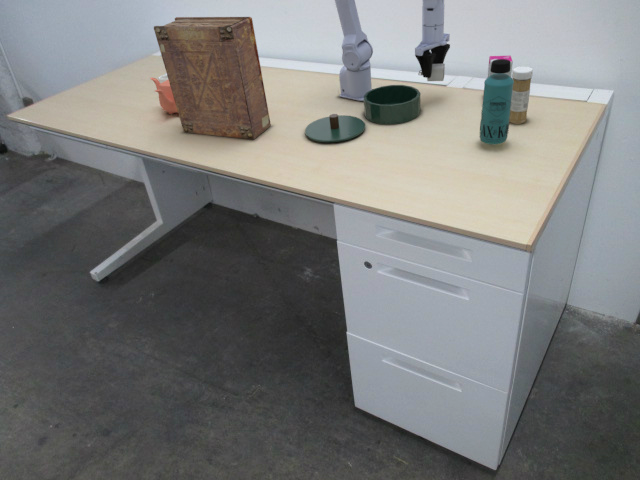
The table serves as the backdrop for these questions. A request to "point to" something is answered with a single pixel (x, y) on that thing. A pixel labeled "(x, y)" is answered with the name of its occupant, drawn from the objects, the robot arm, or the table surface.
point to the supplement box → (496, 59)
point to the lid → (335, 128)
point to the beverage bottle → (496, 104)
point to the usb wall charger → (436, 72)
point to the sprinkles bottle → (520, 94)
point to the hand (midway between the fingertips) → (432, 74)
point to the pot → (392, 104)
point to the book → (215, 75)
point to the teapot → (165, 96)
